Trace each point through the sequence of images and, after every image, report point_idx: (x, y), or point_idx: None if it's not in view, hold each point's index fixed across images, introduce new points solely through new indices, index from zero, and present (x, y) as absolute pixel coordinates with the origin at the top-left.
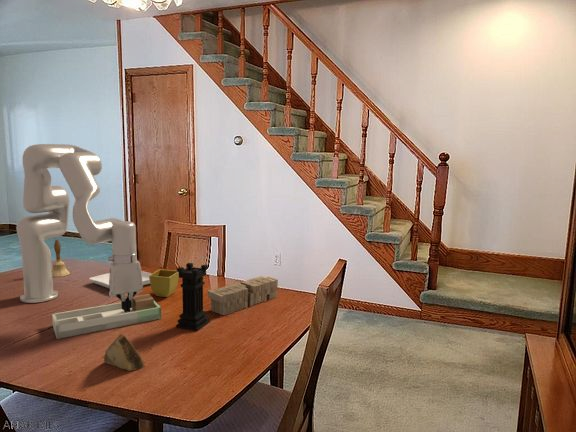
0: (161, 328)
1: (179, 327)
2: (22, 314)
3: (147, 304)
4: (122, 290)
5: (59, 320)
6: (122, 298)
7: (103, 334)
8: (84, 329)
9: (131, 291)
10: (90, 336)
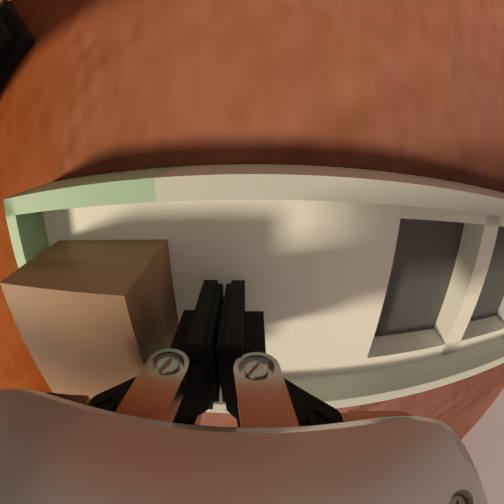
0: (86, 37)
1: (28, 32)
2: (471, 412)
3: (57, 266)
4: (302, 479)
5: (501, 329)
6: (270, 381)
7: (416, 109)
8: (489, 191)
9: (116, 420)
10: (465, 132)
